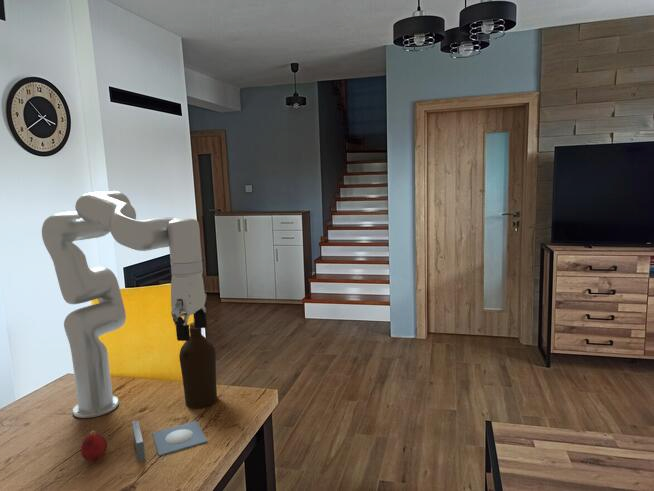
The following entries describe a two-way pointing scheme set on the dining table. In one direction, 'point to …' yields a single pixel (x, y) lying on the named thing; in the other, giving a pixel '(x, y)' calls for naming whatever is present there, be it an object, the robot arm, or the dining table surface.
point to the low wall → (138, 441)
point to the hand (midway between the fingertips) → (192, 333)
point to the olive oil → (198, 370)
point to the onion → (93, 447)
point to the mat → (178, 438)
